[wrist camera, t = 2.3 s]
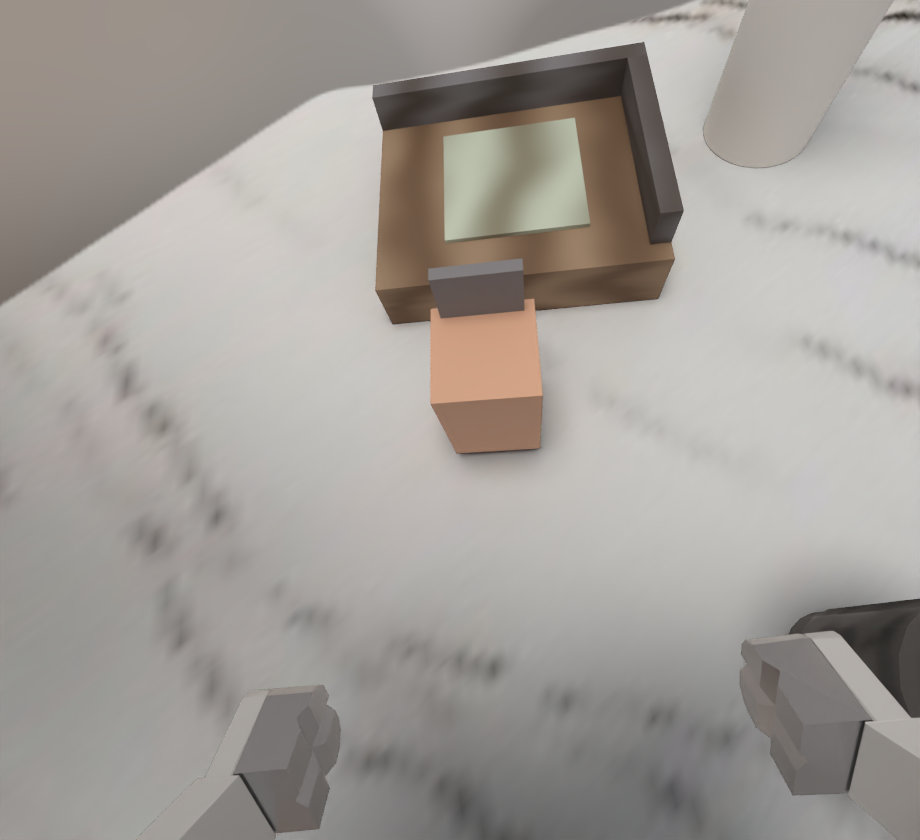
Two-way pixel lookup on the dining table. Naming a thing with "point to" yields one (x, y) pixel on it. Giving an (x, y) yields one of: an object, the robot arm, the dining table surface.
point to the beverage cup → (879, 643)
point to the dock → (528, 180)
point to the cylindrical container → (785, 75)
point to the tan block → (485, 357)
